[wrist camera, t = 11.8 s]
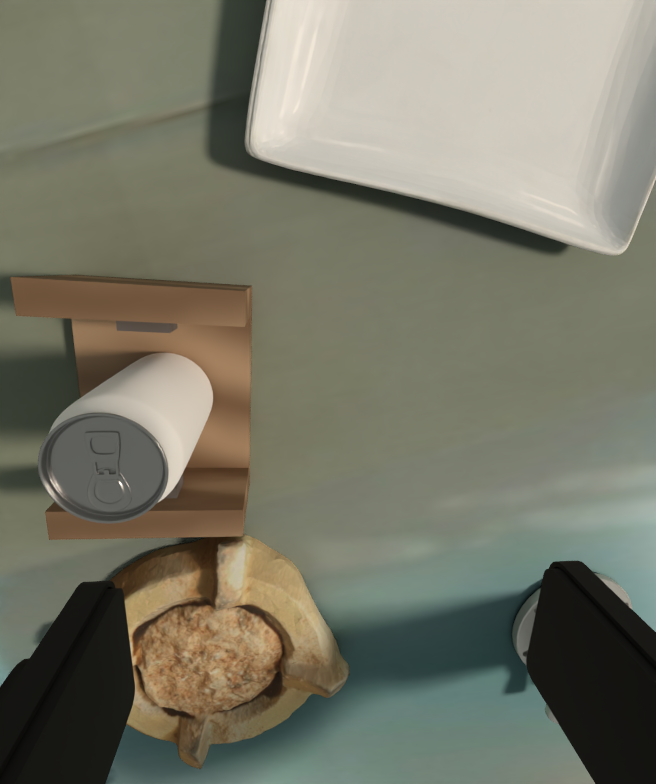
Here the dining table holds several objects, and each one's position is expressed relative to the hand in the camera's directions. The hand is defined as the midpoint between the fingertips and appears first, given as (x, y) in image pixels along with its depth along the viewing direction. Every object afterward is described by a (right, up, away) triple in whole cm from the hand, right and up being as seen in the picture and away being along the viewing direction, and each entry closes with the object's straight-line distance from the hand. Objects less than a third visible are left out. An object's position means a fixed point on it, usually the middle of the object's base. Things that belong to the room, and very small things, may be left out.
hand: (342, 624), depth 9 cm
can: (-12, +5, +21) cm, 25 cm away
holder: (-12, +5, +22) cm, 26 cm away
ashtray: (-11, -18, +30) cm, 36 cm away
